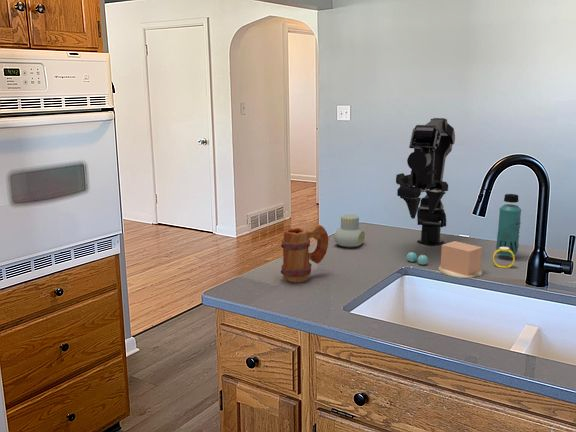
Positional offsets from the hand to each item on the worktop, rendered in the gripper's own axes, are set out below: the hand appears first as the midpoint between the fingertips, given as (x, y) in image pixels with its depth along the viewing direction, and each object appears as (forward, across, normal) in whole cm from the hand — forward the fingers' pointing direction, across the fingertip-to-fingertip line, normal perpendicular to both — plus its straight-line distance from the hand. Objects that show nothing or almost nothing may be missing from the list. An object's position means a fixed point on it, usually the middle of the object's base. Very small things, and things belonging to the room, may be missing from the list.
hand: (421, 216), depth 181 cm
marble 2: (+12, +8, +7) cm, 16 cm away
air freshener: (+13, +9, -22) cm, 27 cm away
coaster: (+12, +5, +18) cm, 22 cm away
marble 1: (+12, +8, +3) cm, 15 cm away
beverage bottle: (+13, -17, +20) cm, 29 cm away
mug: (+12, +43, -8) cm, 45 cm away
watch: (+13, -8, +24) cm, 28 cm away
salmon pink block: (+12, +5, +18) cm, 22 cm away
